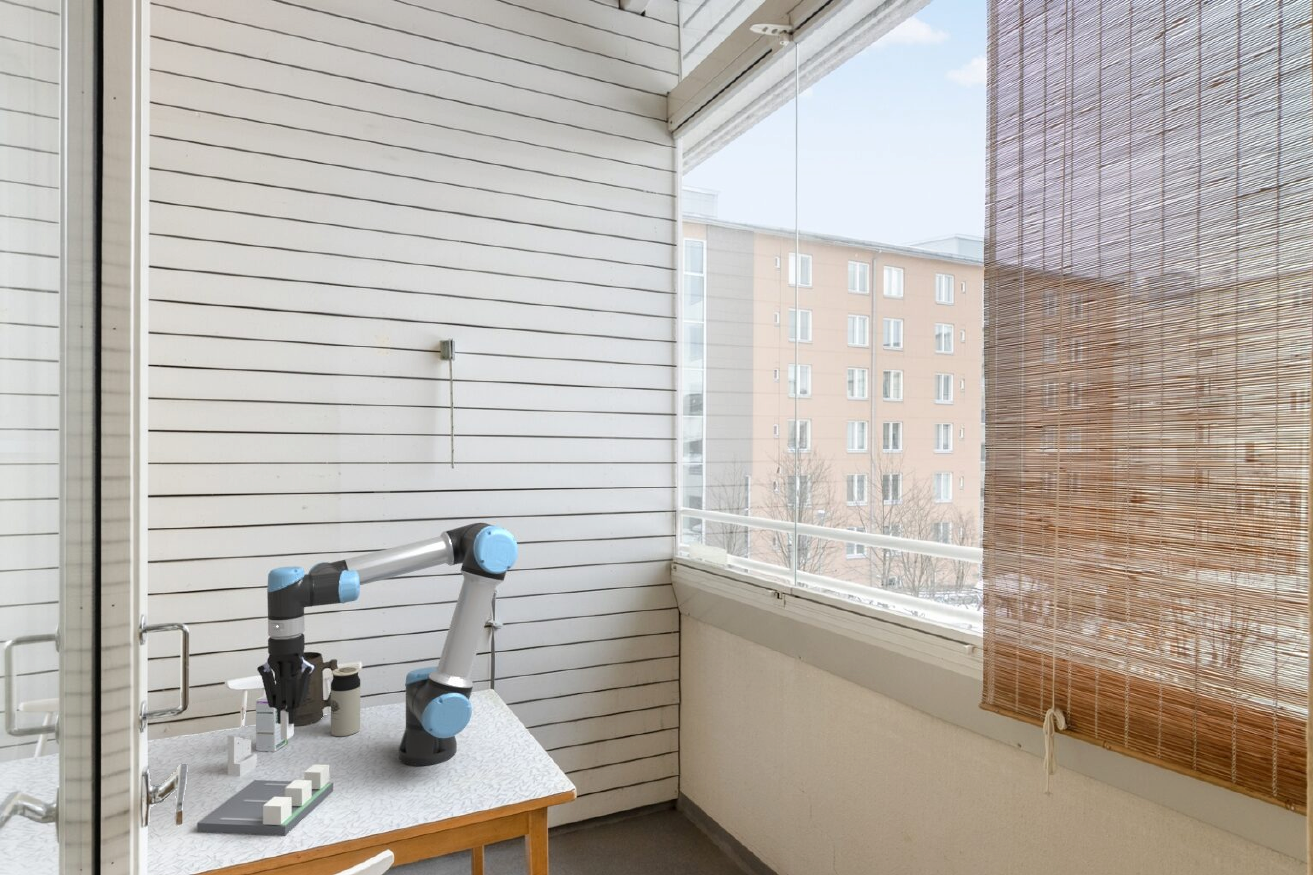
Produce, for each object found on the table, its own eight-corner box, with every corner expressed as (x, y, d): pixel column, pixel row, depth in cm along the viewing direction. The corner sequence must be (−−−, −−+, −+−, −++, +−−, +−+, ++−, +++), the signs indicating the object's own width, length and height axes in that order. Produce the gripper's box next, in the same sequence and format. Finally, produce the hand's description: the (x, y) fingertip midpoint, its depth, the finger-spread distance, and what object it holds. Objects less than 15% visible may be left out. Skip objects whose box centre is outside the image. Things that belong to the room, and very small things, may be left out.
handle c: (291, 815, 159) (291, 797, 159) (280, 824, 155) (280, 806, 155) (274, 814, 160) (274, 796, 160) (263, 824, 156) (263, 805, 156)
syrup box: (275, 752, 197) (275, 699, 197) (255, 751, 198) (255, 698, 198) (288, 743, 203) (288, 692, 203) (268, 742, 203) (268, 691, 203)
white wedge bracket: (214, 772, 179) (228, 735, 184) (240, 777, 188) (253, 741, 192) (226, 774, 179) (240, 736, 183) (252, 778, 187) (265, 742, 191)
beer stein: (280, 728, 213) (285, 661, 213) (283, 716, 223) (288, 651, 223) (337, 724, 219) (342, 658, 220) (337, 712, 229) (342, 649, 229)
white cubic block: (311, 797, 167) (311, 780, 167) (301, 806, 163) (301, 788, 163) (294, 796, 168) (295, 779, 168) (284, 805, 164) (285, 787, 164)
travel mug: (354, 724, 217) (354, 664, 217) (364, 731, 211) (364, 670, 211) (326, 731, 211) (327, 669, 212) (336, 739, 206) (336, 676, 206)
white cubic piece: (329, 781, 175) (329, 764, 175) (320, 789, 171) (320, 772, 171) (313, 780, 176) (313, 764, 176) (304, 788, 172) (304, 771, 172)
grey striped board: (333, 790, 175) (333, 782, 175) (285, 835, 155) (285, 825, 155) (254, 788, 177) (254, 779, 177) (197, 832, 157) (197, 822, 157)
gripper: (249, 639, 163) (249, 743, 163) (304, 639, 162) (305, 744, 162) (269, 630, 170) (270, 729, 170) (322, 630, 169) (323, 731, 169)
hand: (287, 736), depth 166 cm, fingers closed
